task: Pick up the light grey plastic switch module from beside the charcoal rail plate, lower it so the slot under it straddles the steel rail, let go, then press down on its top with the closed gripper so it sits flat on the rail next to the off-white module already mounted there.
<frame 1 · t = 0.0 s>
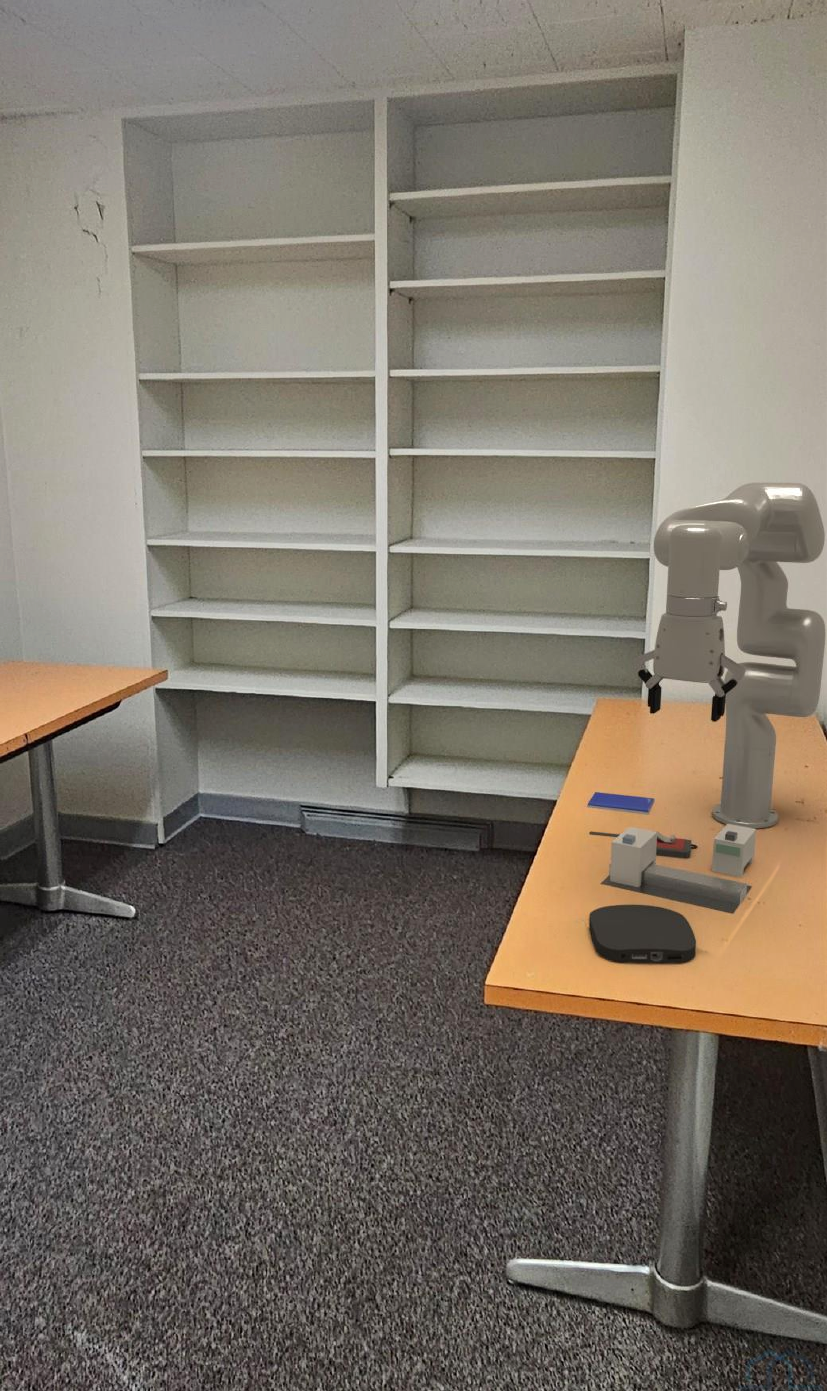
hand: (685, 715, 158), 31 cm above the table, tool pointing down, fingers open, 9 cm apart
rail plate: (675, 890, 169), on the table
walkie-talkie: (640, 853, 186), on the table
switch module: (732, 871, 176), on the table
hard drive: (621, 808, 210), on the table
media streaming box: (640, 943, 152), on the table
mounted module: (632, 875, 172), point 1 cm above the table, touching rail plate
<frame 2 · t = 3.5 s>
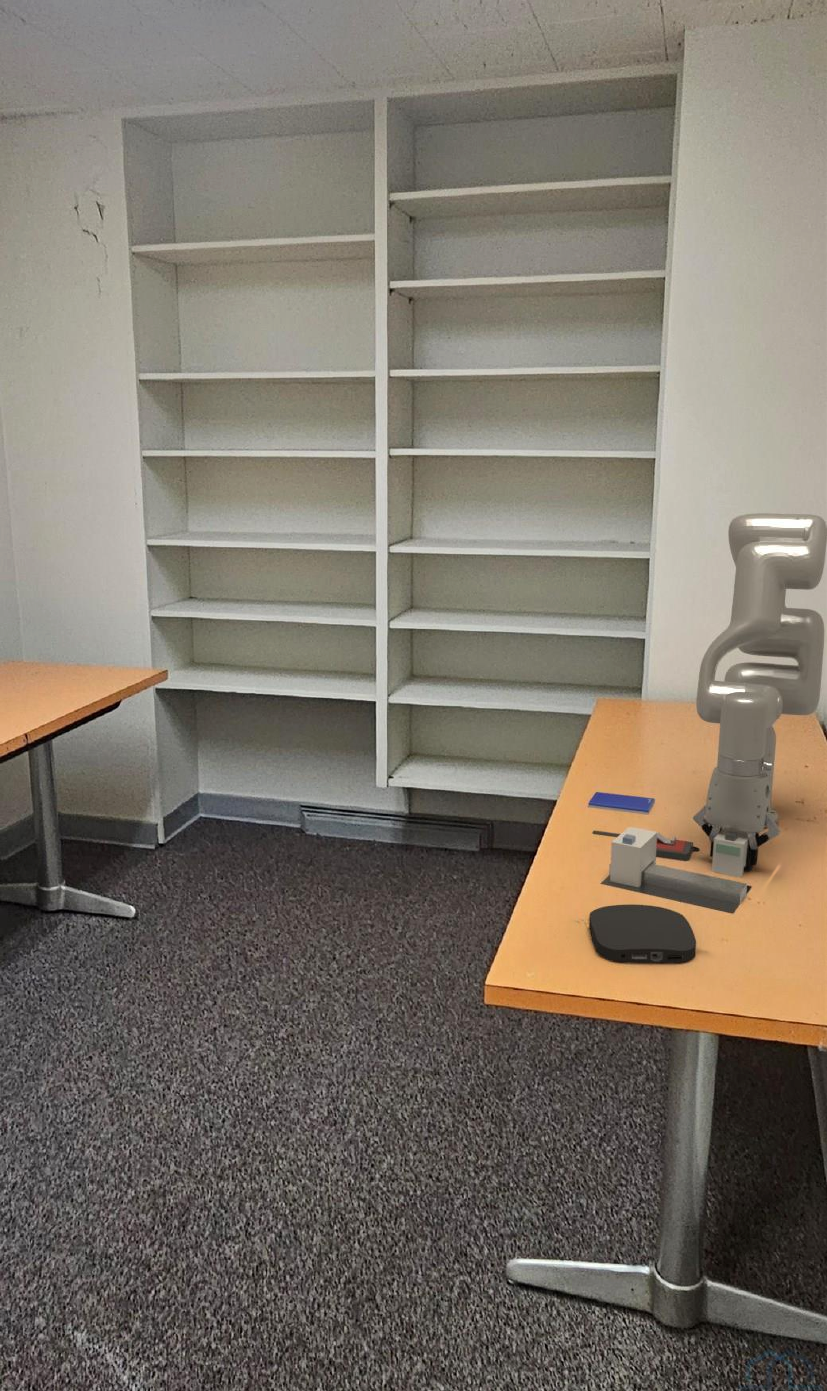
hand: (733, 863, 176), 1 cm above the table, tool pointing down, fingers closed on switch module, 5 cm apart
switch module: (732, 871, 176), on the table, touching gripper
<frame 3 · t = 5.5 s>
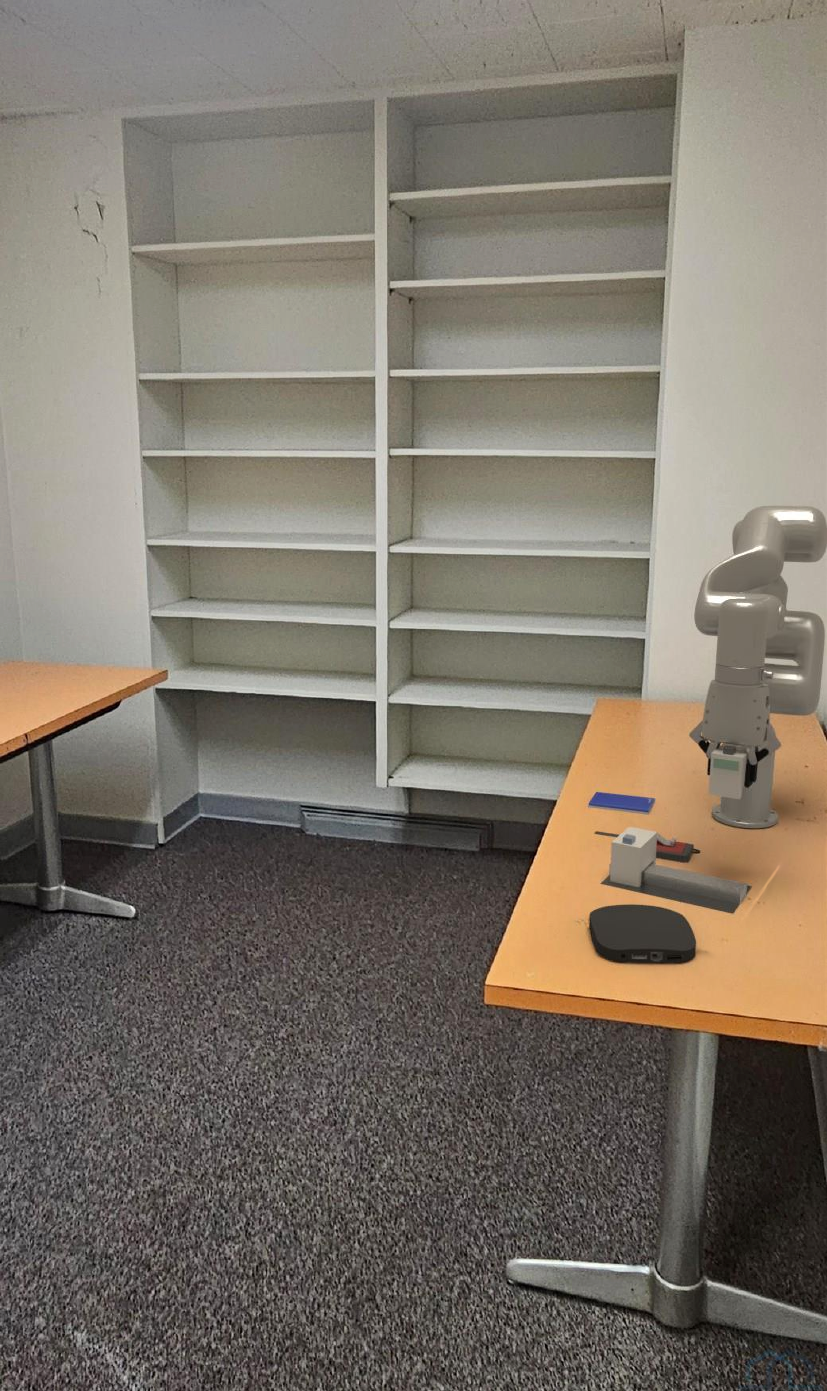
hand: (731, 781, 167), 18 cm above the table, tool pointing down, fingers closed on switch module, 5 cm apart
switch module: (730, 790, 168), point 17 cm above the table, touching gripper
when the fingers open (3 cm above the table, at t = 8.7 s): switch module stays where it is, resting on rail plate.
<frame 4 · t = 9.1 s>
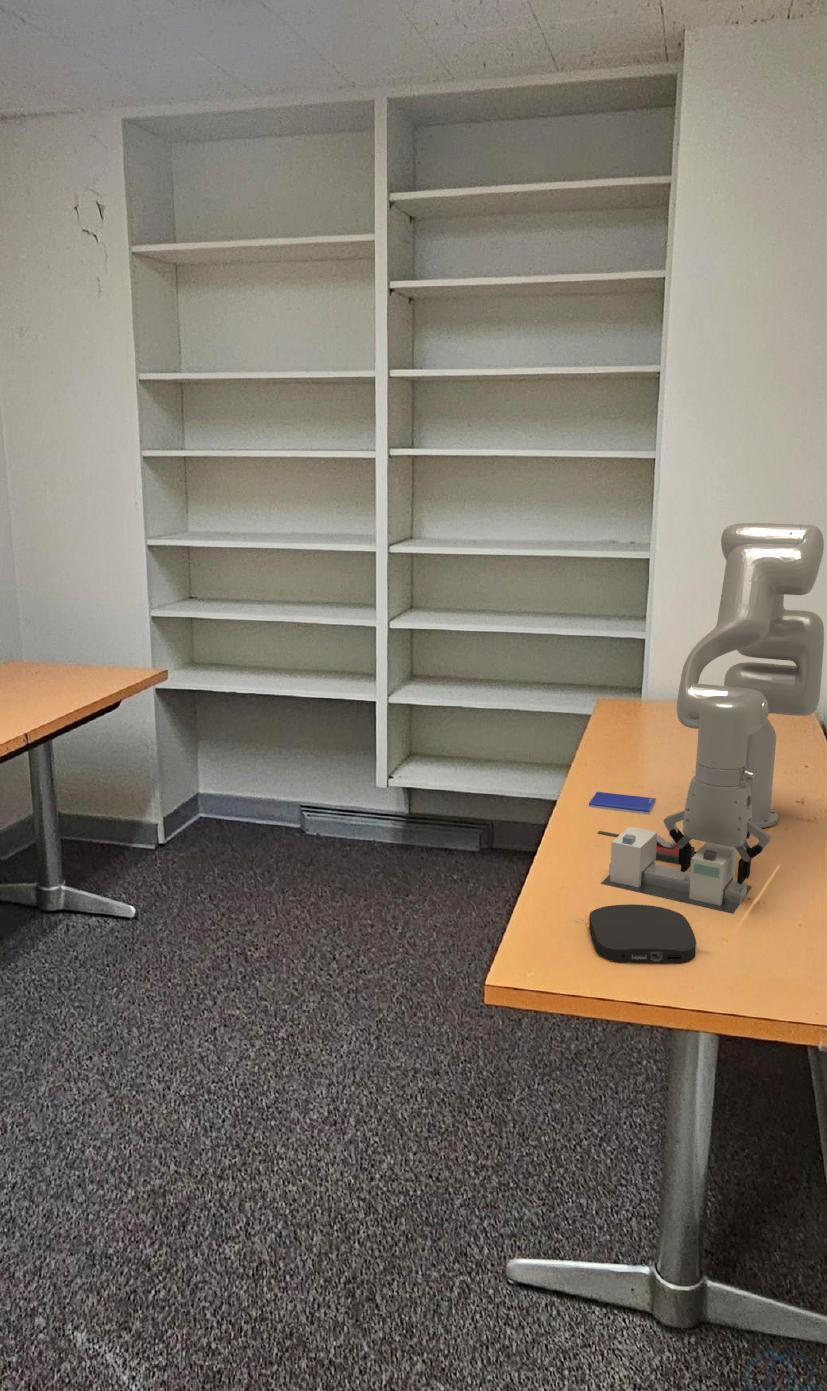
hand: (713, 874, 165), 4 cm above the table, tool pointing down, fingers open, 8 cm apart
switch module: (711, 892, 165), point 1 cm above the table, touching rail plate
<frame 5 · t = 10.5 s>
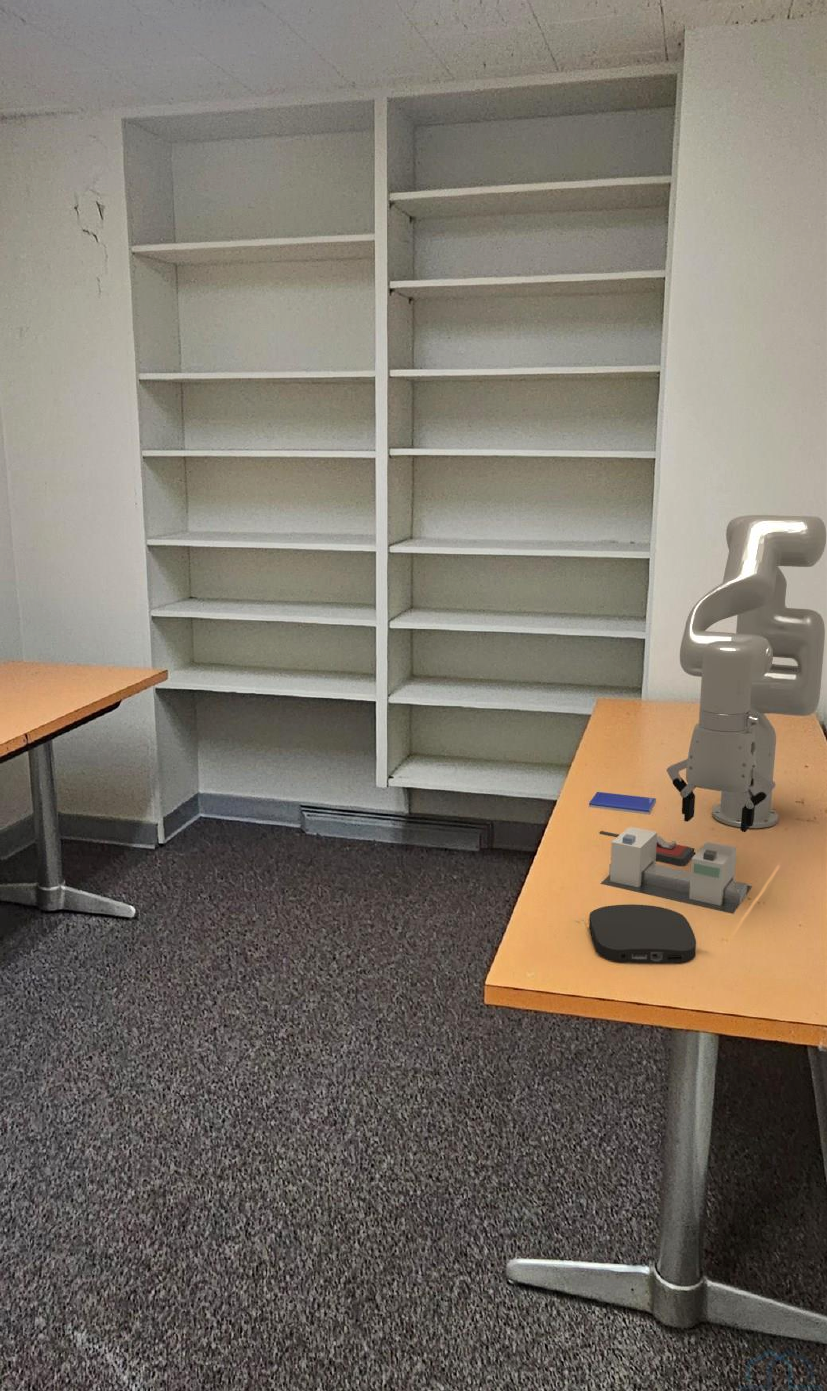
hand: (716, 823, 163), 13 cm above the table, tool pointing down, fingers open, 8 cm apart
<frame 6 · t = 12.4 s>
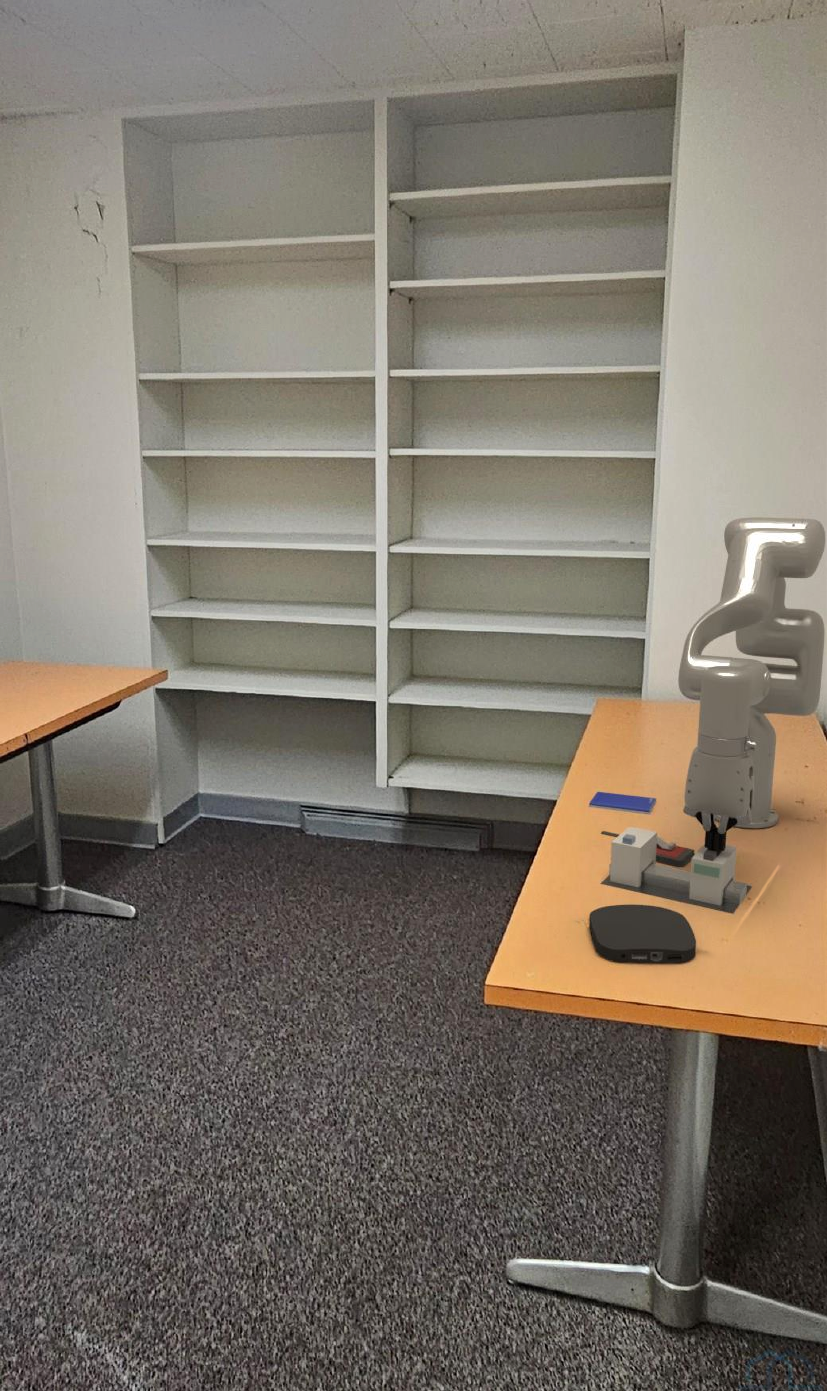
hand: (714, 853, 164), 8 cm above the table, tool pointing down, fingers closed
switch module: (711, 892, 165), point 1 cm above the table, touching gripper, rail plate
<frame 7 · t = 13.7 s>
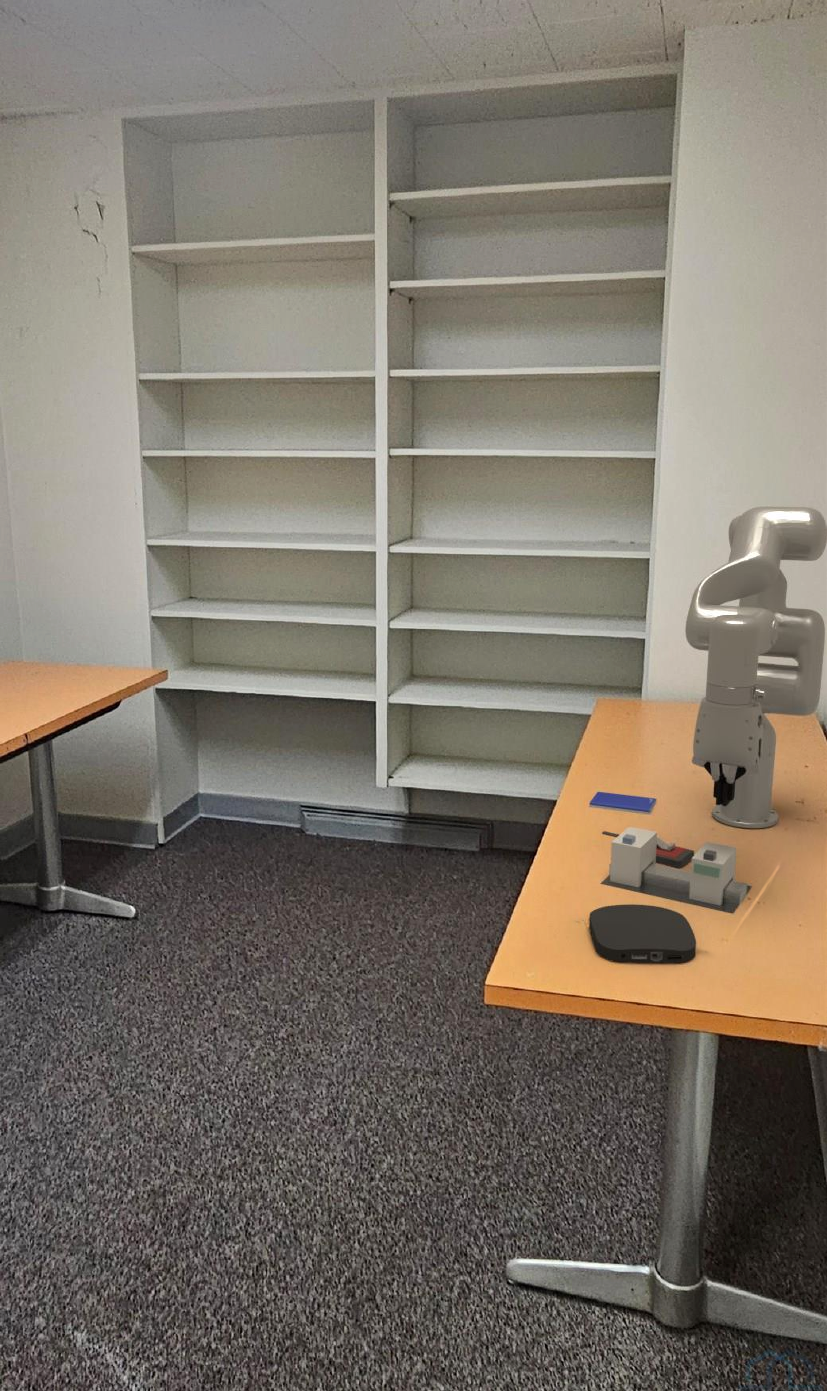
hand: (723, 802, 163), 16 cm above the table, tool pointing down, fingers closed
switch module: (711, 892, 165), point 1 cm above the table, touching rail plate
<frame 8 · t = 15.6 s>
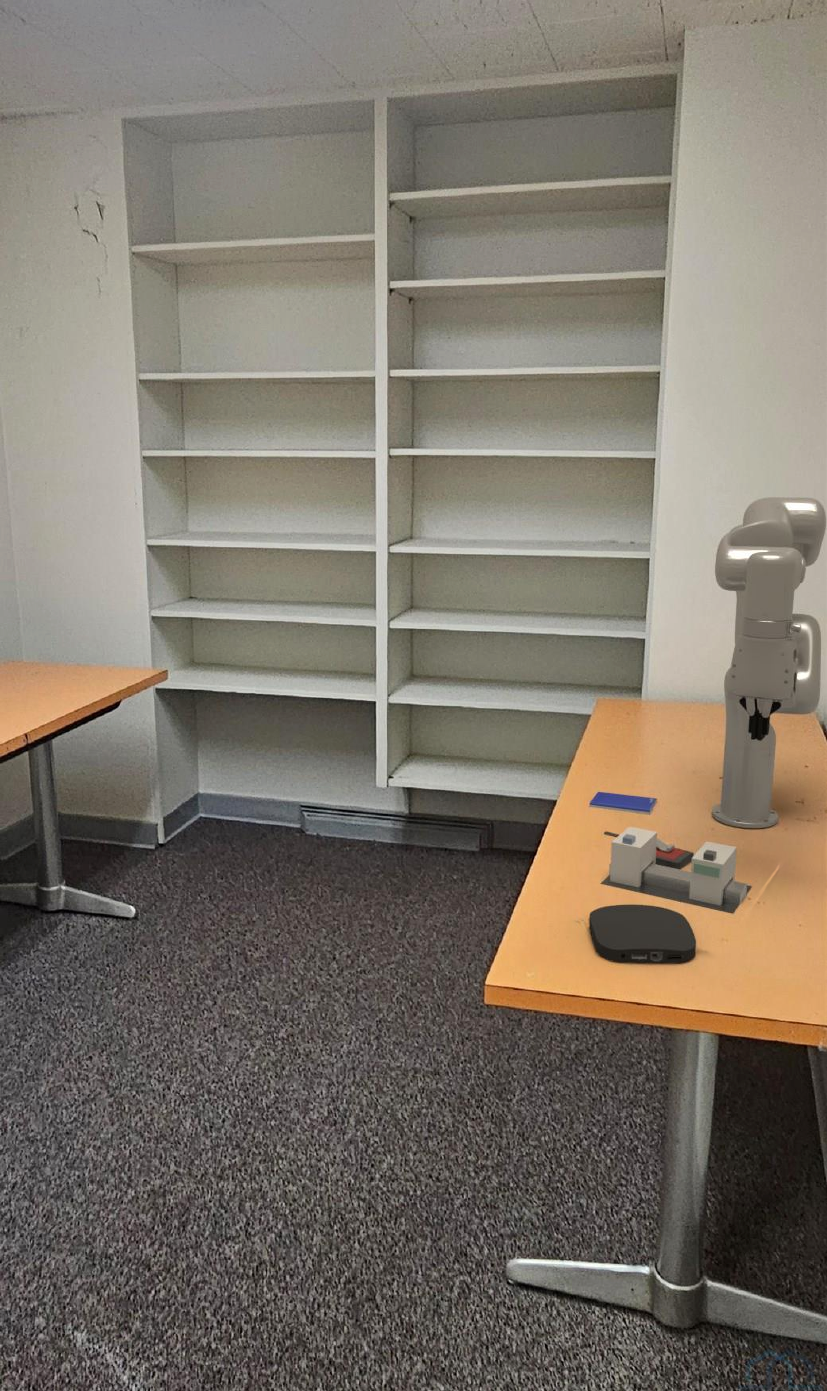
hand: (758, 738, 167), 25 cm above the table, tool pointing down, fingers closed
at the end: switch module inside the target area on the rail plate (1.0 cm from its centre), point 1.0 cm above the rail plate's base; switch module tilted 0°; the gripper is holding nothing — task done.
